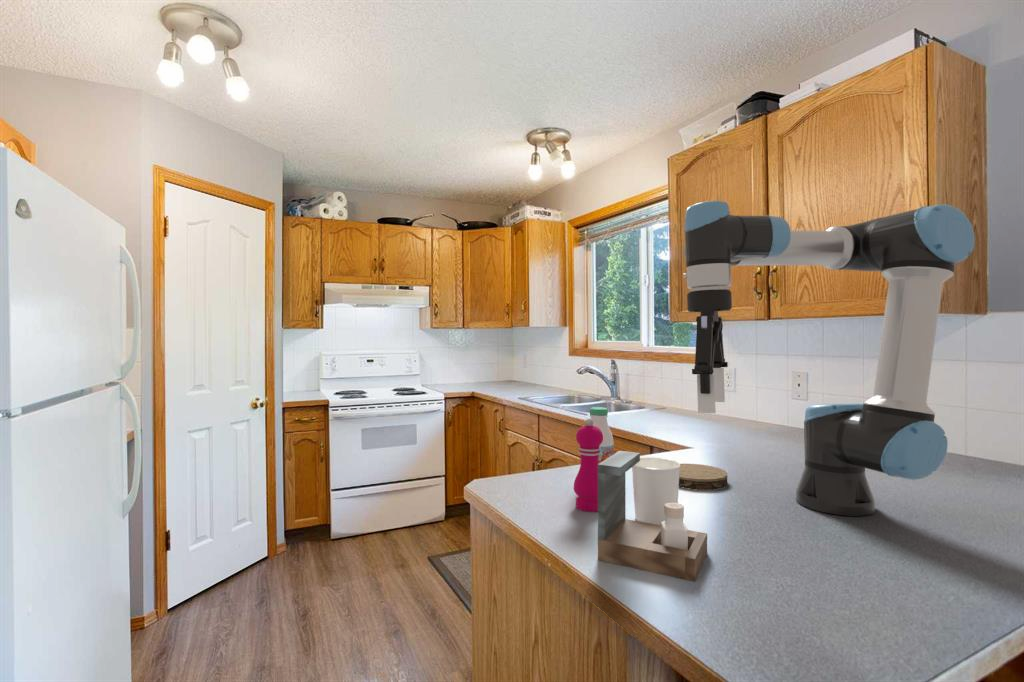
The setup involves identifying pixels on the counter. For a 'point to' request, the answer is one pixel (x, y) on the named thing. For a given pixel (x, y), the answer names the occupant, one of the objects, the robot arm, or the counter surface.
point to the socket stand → (638, 529)
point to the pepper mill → (588, 467)
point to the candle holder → (654, 488)
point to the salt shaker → (674, 527)
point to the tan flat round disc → (702, 477)
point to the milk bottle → (603, 431)
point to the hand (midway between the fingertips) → (712, 406)
